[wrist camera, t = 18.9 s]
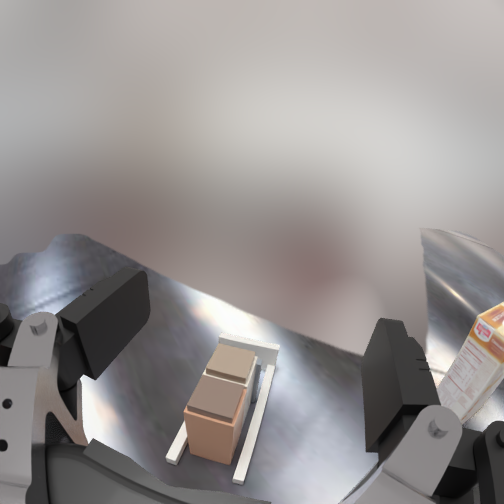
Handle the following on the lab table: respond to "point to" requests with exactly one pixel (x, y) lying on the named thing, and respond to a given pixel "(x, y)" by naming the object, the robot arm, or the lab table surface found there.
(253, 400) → the pusher plate
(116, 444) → the lab table surface
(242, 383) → the cream canister
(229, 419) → the terracotta canister
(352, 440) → the lab table surface
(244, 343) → the lane
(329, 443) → the lab table surface
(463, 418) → the coffeecake box
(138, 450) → the lab table surface
